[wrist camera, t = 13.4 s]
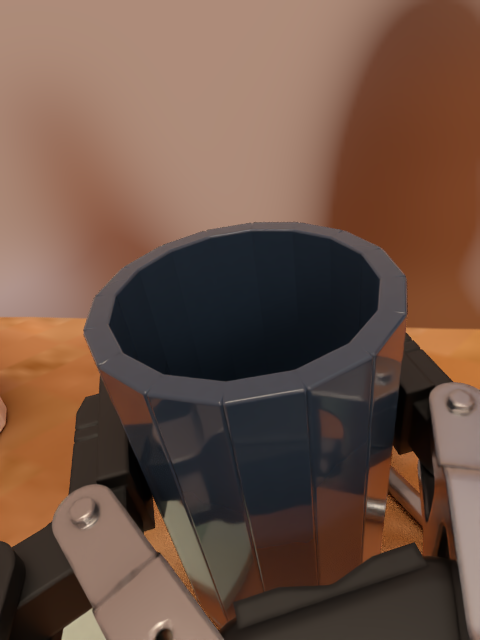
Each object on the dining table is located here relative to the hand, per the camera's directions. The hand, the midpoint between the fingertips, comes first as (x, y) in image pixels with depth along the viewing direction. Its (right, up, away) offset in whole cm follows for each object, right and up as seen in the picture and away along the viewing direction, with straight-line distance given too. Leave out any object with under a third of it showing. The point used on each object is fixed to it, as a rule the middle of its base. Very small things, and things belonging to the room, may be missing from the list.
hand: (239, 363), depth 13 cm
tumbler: (+1, -6, +2) cm, 6 cm away
